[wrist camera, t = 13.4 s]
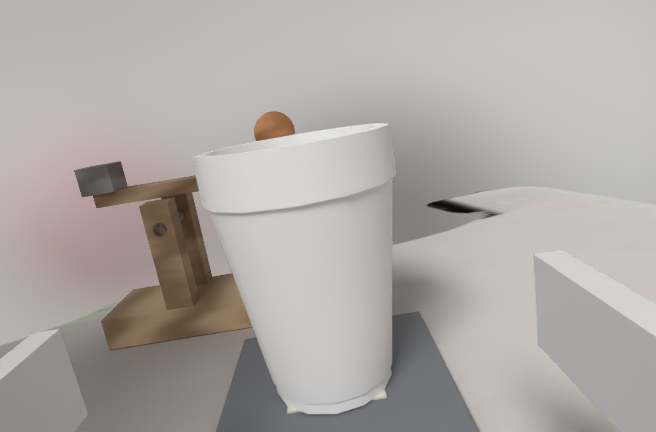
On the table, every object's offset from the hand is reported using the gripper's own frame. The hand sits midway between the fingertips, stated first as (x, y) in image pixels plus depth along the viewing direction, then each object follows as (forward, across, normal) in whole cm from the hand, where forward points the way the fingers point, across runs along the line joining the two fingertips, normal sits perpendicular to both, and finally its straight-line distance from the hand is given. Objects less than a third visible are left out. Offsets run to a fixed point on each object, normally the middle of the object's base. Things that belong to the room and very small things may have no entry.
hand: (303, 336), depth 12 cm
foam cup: (+11, 0, -8) cm, 14 cm away
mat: (+11, 0, -9) cm, 14 cm away
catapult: (+23, -9, -9) cm, 26 cm away
